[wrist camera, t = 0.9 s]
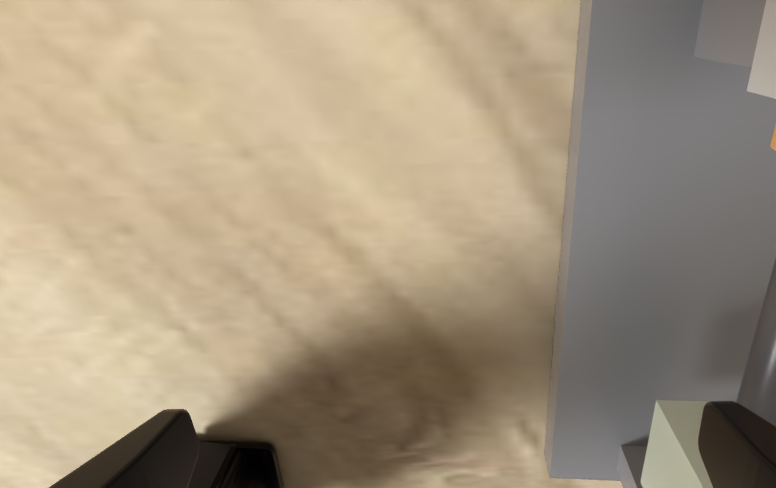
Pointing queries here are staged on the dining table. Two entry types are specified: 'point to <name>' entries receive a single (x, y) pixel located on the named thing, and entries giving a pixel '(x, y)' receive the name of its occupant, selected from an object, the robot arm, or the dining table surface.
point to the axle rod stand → (664, 227)
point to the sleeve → (675, 447)
